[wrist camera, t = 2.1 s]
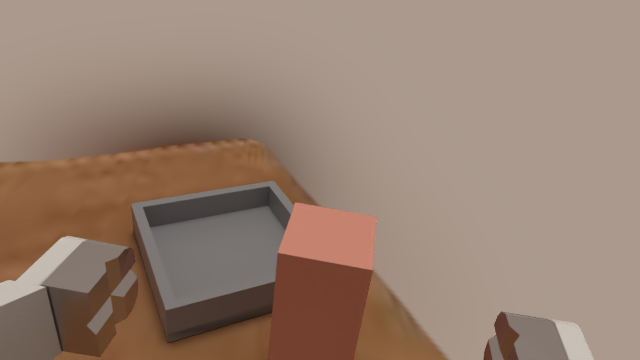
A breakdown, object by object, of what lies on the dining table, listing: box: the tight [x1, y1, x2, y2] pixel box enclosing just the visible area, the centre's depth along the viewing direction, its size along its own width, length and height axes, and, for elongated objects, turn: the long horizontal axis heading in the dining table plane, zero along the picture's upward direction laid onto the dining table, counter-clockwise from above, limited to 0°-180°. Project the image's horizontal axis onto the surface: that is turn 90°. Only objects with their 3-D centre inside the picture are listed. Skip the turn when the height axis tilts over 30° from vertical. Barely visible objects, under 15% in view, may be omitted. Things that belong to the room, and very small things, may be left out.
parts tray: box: [131, 181, 294, 342], centre depth 39 cm, size 13×13×3 cm
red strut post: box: [268, 203, 377, 360], centre depth 28 cm, size 5×5×12 cm
